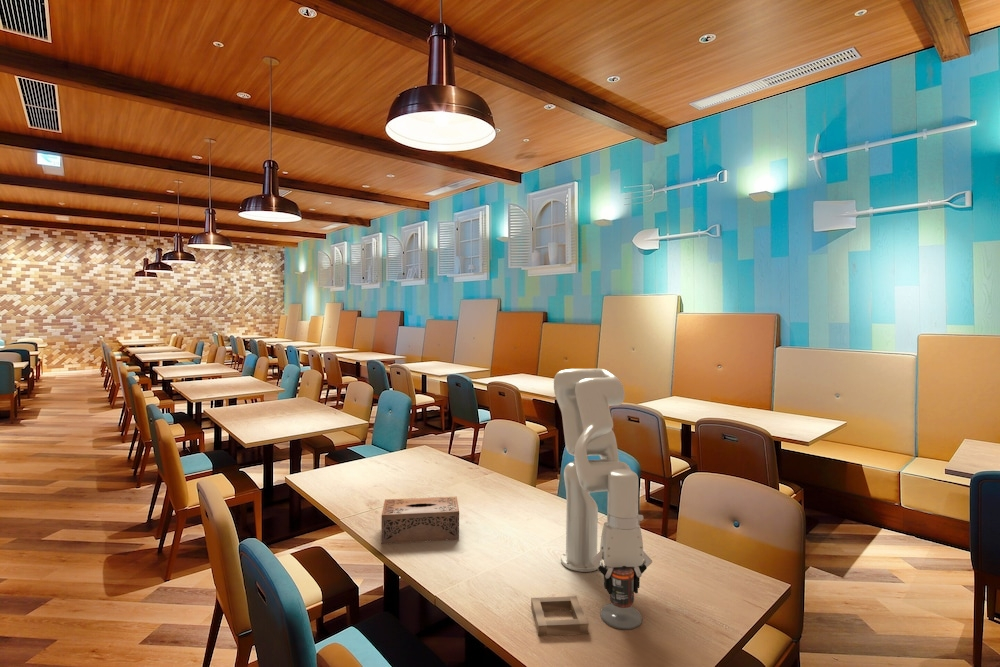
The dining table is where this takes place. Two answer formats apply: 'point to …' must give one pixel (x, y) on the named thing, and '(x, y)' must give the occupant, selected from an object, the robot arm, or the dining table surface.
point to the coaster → (621, 617)
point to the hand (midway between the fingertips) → (621, 590)
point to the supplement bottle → (622, 587)
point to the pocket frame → (559, 626)
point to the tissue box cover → (420, 520)
